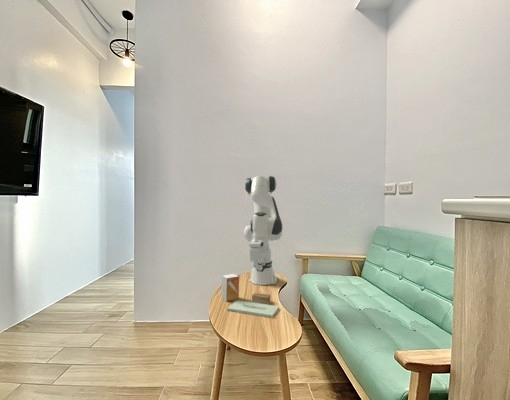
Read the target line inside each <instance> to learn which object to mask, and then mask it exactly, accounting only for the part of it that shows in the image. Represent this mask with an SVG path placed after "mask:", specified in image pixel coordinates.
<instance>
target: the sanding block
mask: <svg viewBox="0 0 510 400" xmlns="http://www.w3.org/2000/svg"><path fill="white" fill-rule="evenodd" d="M251 302H253V303H260V304H266V305H269V303H271V294H269V293H262V292H261V293H260V292H254V293H253V294H252V295H251Z"/></svg>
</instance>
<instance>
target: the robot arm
mask: <svg viewBox="0 0 510 400" xmlns="http://www.w3.org/2000/svg"><path fill="white" fill-rule="evenodd" d="M277 185H278V183H277V180H276V177H275V176H271V175H266V176H265V175H263V176H262V175H257V176H255V177H247V178H246V179H245V180H244V185H243V186H244V189H245V192H247V193H249V194H250V196H251V200H252V201H253V213H254V214H253V217H252V219H251V220H250V222H249V223H250V224H249V225H246V226H245V227H244V230H243V237H244V238H245V240H247V241H248V242H249V243H248V247H249V260H250V262H253V268H251V274H250V275H251V278H249V280H248V281H249V282H251V283H252V284H253V285H258V286H268V285H269V286H270V285H275V284H277V281H278V279H279V277H278V275H275V269H274V268H273V260H272V251H271V248H270V243H269V241H270V242H271V241H272V242H273V241H277V240H280V239H281V237H282V236H283V227H284V226H283V223H282V219H281V217H280V212H279V210H278V205H277V203H276V200H275V197H274V196H272V193H273V192H275V190H276V188H277Z"/></svg>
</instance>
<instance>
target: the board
mask: <svg viewBox="0 0 510 400" xmlns="http://www.w3.org/2000/svg"><path fill="white" fill-rule="evenodd" d="M278 309H280V306H279V305H272V304H262V303H254V302H252V301H245V300H239V299H236V300H234V302H233V303H232V304H231V305H230V306H227V311H229V312H236V313H242V314H245V315H246V314H248V315H252V314H253V316H254V315H255V316H260V317H265V318H274V316H276V314H275V313H277V312H278V311H279V310H278Z"/></svg>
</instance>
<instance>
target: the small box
mask: <svg viewBox="0 0 510 400" xmlns="http://www.w3.org/2000/svg"><path fill="white" fill-rule="evenodd" d="M239 289H240V275H237V274H236V273H230V274H229V273H228V274H225V275H221V299H222V300H223V301H225V302H230V301H236V300H239V299H240V294H239V293H240V290H239Z"/></svg>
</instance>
